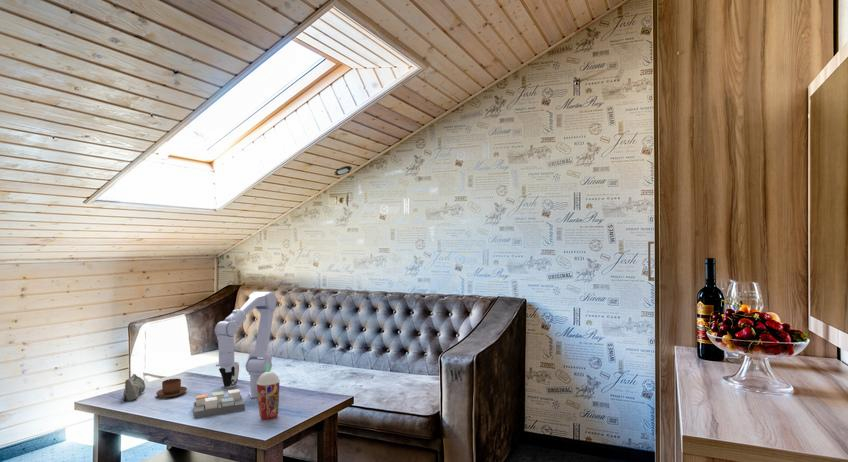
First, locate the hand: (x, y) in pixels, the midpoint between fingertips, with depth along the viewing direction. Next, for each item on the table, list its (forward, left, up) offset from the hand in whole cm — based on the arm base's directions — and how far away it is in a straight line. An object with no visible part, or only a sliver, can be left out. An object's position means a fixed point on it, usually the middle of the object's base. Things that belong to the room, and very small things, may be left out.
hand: (227, 386), depth 200 cm
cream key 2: (-3, -6, -8) cm, 10 cm away
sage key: (+3, -6, -8) cm, 10 cm away
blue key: (0, 0, -9) cm, 9 cm away
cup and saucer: (+20, -34, -10) cm, 41 cm away
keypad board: (+3, -3, -9) cm, 10 cm away
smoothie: (-13, +17, -10) cm, 23 cm away
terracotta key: (+9, -6, -8) cm, 13 cm away
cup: (-4, -34, -10) cm, 36 cm away
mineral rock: (+34, -40, -10) cm, 53 cm away
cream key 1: (+6, 0, -8) cm, 10 cm away
